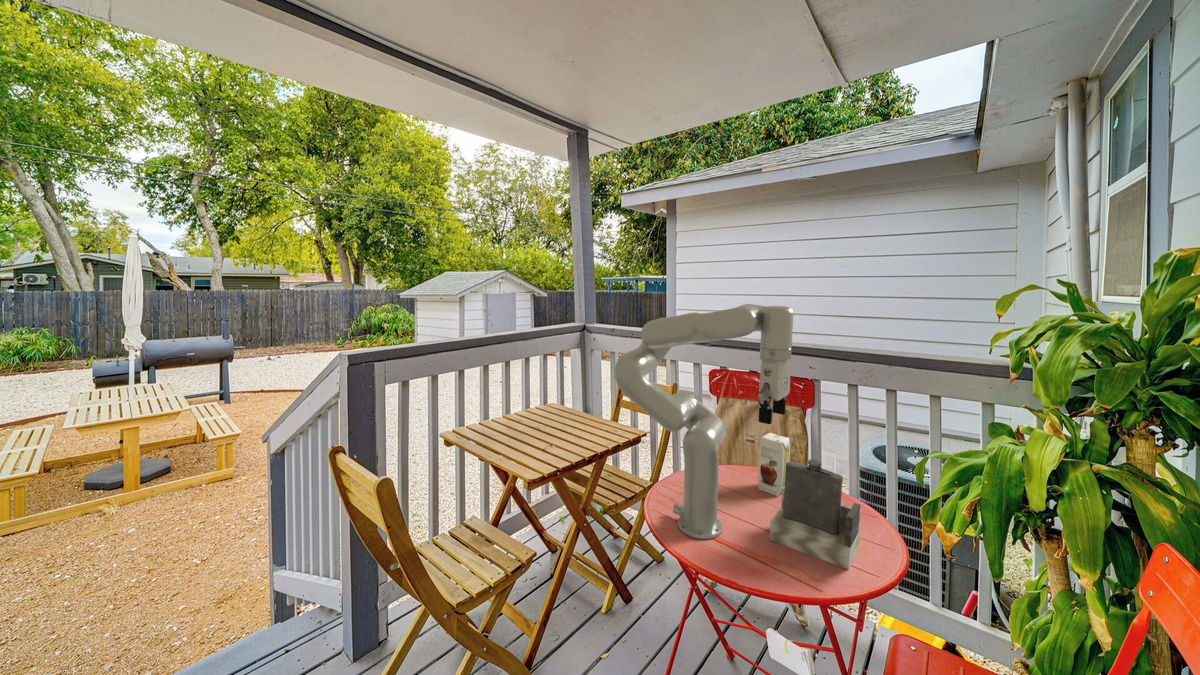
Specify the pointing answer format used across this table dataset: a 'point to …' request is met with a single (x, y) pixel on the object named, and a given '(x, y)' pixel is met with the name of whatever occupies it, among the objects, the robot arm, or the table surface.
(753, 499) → the table surface
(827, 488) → the flask
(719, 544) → the table surface
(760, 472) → the juice carton
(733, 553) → the table surface
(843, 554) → the stone display stand
